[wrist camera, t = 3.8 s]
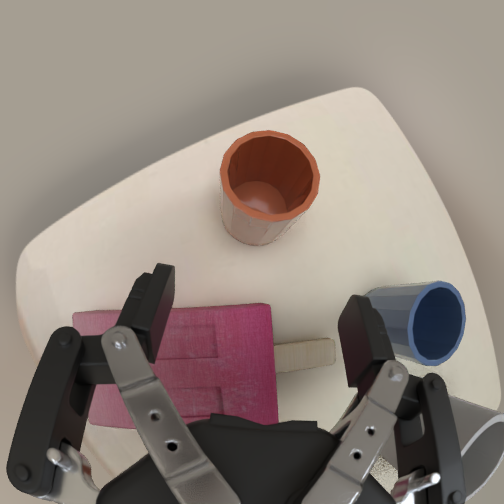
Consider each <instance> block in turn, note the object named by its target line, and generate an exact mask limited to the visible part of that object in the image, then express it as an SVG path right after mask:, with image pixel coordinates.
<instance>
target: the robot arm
mask: <svg viewBox="0 0 504 504" xmlns="http://www.w3.org/2000/svg"><path fill="white" fill-rule="evenodd" d="M174 294H175V267H174V266H172V265H167V264H161V263H157V265H156V267H155V269H154V271H153V274H150V273H145V272H144V273H143V274H142V275H141V276H140V277H139V278H137V279H136V281H135V283H134V285H133V287H132V290H131V291H130V293H129V296H128V298H127V300H126V302H125V304H124V306H123V309H122V311H121V313H120V315H119V317H118V320H117V322H116V324H115V326H113V327H111V328H109V329H108V330H106V331H105V332H104V334H101V335H84V336H81V335H80V333H79V332H78V331H77V330H76V329H75V328H73V327H61V328H59V329H57V330H56V331H54V332H53V334H52V335H51V337H50V339H49V341H48V343H47V346H46V348H45V350H44V353H43V355H42V357H41V360H40V362H39V364H38V367H37V369H36V372H35V374H34V377H33V379H32V382H31V385H30V388H29V390H28V393H27V396H26V399H25V402H24V404H23V408H22V410H21V414H20V417H19V420H18V423H17V427H16V430H15V434H14V437H13V441H12V445H11V449H10V453H9V458H8V461H7V467H6V469H7V475H8V478H9V480H10V482H11V483H12V485H13V486H14V487H15V488H16V489H18V490H19V491H21V492H24V493H27V494H30V495H32V496H33V497H37V498H40V499H44V500H48V501H54V502H56V503H58V504H464V503H465V500H466V487H465V478H464V470H463V463H462V457H461V451H460V445H459V440H458V435H457V430H456V425H455V421H454V416H453V412H452V408H451V404H450V400H449V396H448V392H447V389H446V385H445V382H444V380H443V379H442V378H441V377H440V376H439V375H438V374H435V373H428V374H427V375H426V376H425V377H423V378H420V377H417V376H413V375H410V374H408V371H407V369H406V367H405V366H404V365H403V364H402V363H400V362H399V361H396V359H395V355H394V352H393V349H392V346H391V342H390V339H389V336H388V335H387V330H386V328H385V324H384V321H383V318H382V316H381V315H380V313H379V312H378V311H377V309H376V308H372V305H371V302H370V299H369V297H367V296H360V295H352V296H351V297H350V299H349V301H348V302H347V304H346V306H345V308H344V310H343V311H342V313H341V315H340V317H339V320H338V332H339V337H340V342H341V347H342V353H343V358H344V364H345V369H346V375H347V381H348V387H357V389H358V392H357V393H356V394H355V396H354V397H353V399H352V401H351V402H350V404H349V406H348V407H347V409H346V410H345V412H344V413H343V415H342V416H341V418H340V419H339V421H338V422H337V424H336V425H335V426H334V427H333V428H332V429H331V430H330V432H328V431H326V430H323V429H321V428H318V427H317V421H295V420H292V421H287V422H282V423H276V424H271V425H263V424H260V423H256V422H253V421H250V420H247V419H244V418H242V417H239V416H232V415H224V414H217V413H211V414H210V419H202V420H197V421H193V422H190V423H188V424H185V422H184V421H183V419H182V417H181V416H180V414H179V412H178V411H177V409H176V407H175V405H174V404H173V402H172V400H171V398H170V397H169V395H168V393H167V391H166V389H165V387H164V386H163V384H162V382H161V380H160V379H159V378H158V377H156V375H155V374H154V372H153V370H152V368H151V366H150V364H149V363H152V364H155V361H156V358H157V354H158V351H159V347H160V344H161V341H162V337H163V334H164V331H165V327H166V324H167V321H168V317H169V314H170V311H171V308H172V305H173V301H174ZM97 384H117V387H118V389H119V392H120V395H121V397H122V399H123V402H124V404H125V406H126V408H127V410H128V413H129V415H130V417H131V419H132V421H133V423H134V425H135V427H136V429H137V431H138V433H139V435H140V437H141V439H142V441H143V443H144V445H145V447H146V449H147V450H148V452H149V453H148V454H147V455H145V456H144V457H143V458H141V459H140V460H139V461H137V462H136V463H135V464H133V465H132V466H131V467H129V468H128V469H127V470H125V471H124V472H123V473H121V474H120V475H118V476H117V477H116V478H114V479H113V480H111V481H110V482H109V483H107V484H106V485H105V486H104V487H103V488H102V489H101V490H100V489H99V488H98V487H97V486H96V485H95V484H94V482H93V480H92V476H91V465H90V463H89V461H88V459H87V458H86V457H85V456H84V455H83V454H81V453H80V448H81V443H82V439H83V434H84V430H85V426H86V422H87V418H88V414H89V410H90V406H91V402H92V399H93V395H94V391H95V388H96V385H97ZM420 414H422V417H423V422H424V428H425V431H424V435H423V431H422V425H421V420H420ZM392 429H394V437H395V446H396V456H397V466H398V480H397V481H396V483H395V485H394V488H393V489H392V490H391V495H390V494H389V493H388V492H387V491H386V490H385V489H384V488H383V487H382V486H381V485H380V484H379V483H378V481H377V480H376V479H375V478H374V477H373V476H372V475H371V474H370V471H371V469H372V468H373V466H374V464H375V462H376V461H377V459H378V457H379V455H380V453H381V451H382V449H383V447H384V446H385V444H386V442H387V440H388V438H389V436H390V434H391V431H392Z"/></svg>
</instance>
